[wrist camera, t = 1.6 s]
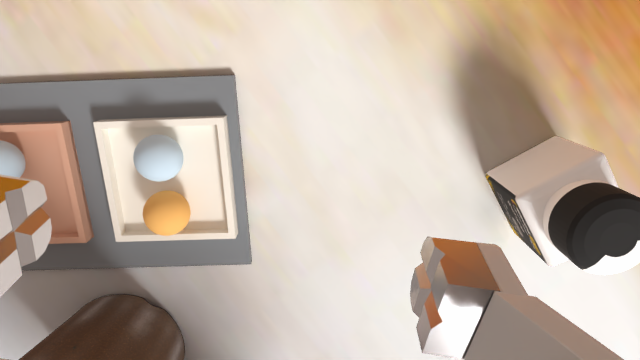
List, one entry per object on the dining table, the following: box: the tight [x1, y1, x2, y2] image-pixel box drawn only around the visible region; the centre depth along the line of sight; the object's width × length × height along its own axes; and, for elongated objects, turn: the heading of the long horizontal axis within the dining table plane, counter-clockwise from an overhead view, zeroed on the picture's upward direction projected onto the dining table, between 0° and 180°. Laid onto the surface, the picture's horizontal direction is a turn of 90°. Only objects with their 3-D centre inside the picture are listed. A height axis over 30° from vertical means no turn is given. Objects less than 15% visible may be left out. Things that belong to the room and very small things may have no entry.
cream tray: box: [93, 115, 239, 242], centre depth 39 cm, size 11×11×1 cm
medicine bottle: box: [486, 136, 640, 275], centre depth 34 cm, size 7×7×12 cm
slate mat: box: [0, 75, 252, 270], centre depth 40 cm, size 18×27×1 cm, turn 92°
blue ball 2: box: [133, 135, 184, 182], centre depth 36 cm, size 4×4×4 cm
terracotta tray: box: [0, 121, 94, 244], centre depth 39 cm, size 11×11×1 cm
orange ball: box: [143, 190, 191, 236], centre depth 38 cm, size 4×4×4 cm
